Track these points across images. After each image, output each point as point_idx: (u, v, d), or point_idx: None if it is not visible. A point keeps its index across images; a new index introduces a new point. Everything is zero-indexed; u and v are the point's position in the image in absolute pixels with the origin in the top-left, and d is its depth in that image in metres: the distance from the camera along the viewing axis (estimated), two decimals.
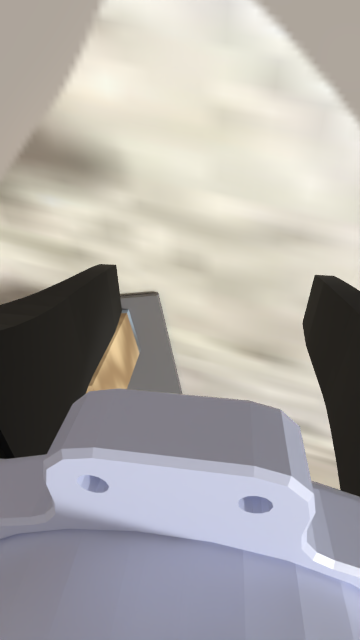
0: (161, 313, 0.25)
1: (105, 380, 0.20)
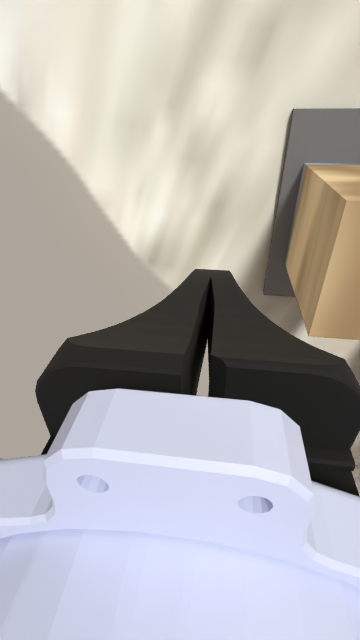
0: (327, 109, 0.16)
1: None
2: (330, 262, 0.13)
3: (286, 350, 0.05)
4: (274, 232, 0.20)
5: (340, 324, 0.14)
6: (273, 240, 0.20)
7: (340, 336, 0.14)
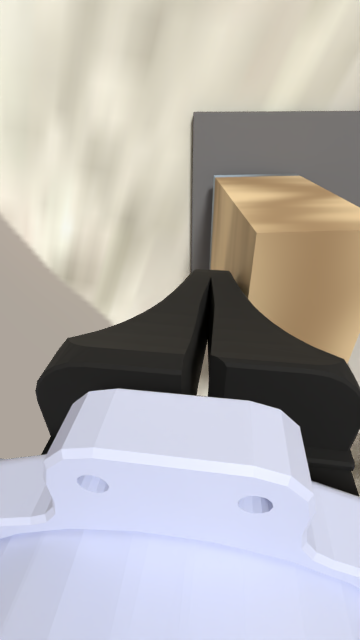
0: (230, 112, 0.14)
1: (278, 216, 0.10)
2: None
3: (285, 350, 0.05)
4: (192, 247, 0.18)
5: None
6: (192, 256, 0.19)
7: None
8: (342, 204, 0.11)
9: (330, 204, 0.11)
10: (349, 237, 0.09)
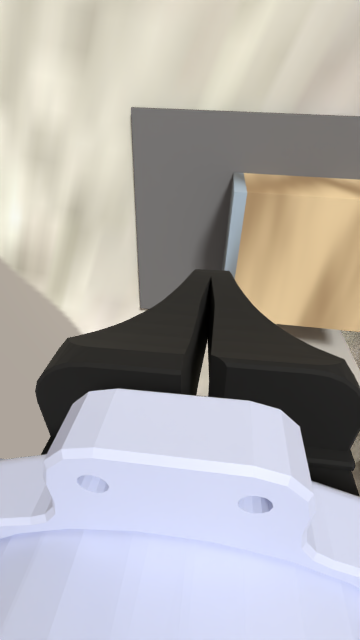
0: (166, 109, 0.15)
1: None
2: None
3: (286, 350, 0.05)
4: (138, 242, 0.19)
5: None
6: (138, 250, 0.19)
7: None
8: (350, 180, 0.15)
9: (353, 182, 0.15)
10: None
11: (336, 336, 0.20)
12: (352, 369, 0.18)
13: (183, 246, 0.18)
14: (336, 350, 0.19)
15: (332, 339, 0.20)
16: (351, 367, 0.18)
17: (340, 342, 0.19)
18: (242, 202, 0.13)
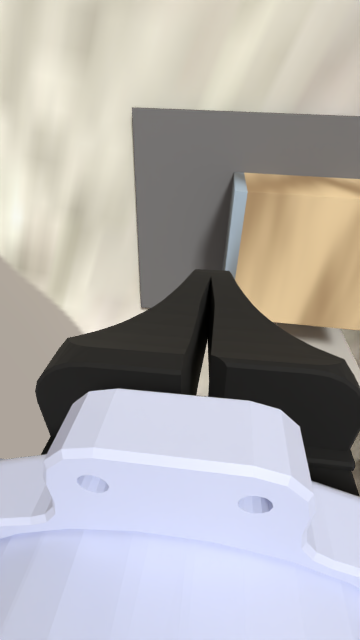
0: (167, 109, 0.15)
1: None
2: None
3: (286, 350, 0.05)
4: (139, 241, 0.19)
5: None
6: (139, 250, 0.19)
7: None
8: (350, 180, 0.15)
9: (352, 181, 0.15)
10: None
11: (336, 335, 0.20)
12: (352, 367, 0.18)
13: (184, 245, 0.18)
14: (336, 349, 0.19)
15: (332, 338, 0.20)
16: (351, 365, 0.18)
17: (340, 341, 0.20)
18: (242, 201, 0.13)
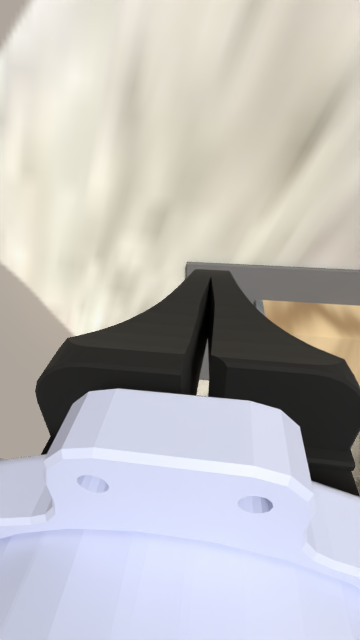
0: (210, 265, 0.22)
1: None
2: None
3: (286, 350, 0.05)
4: None
5: None
6: None
7: None
8: (335, 307, 0.22)
9: (337, 310, 0.22)
10: None
11: None
12: None
13: None
14: None
15: None
16: None
17: None
18: None
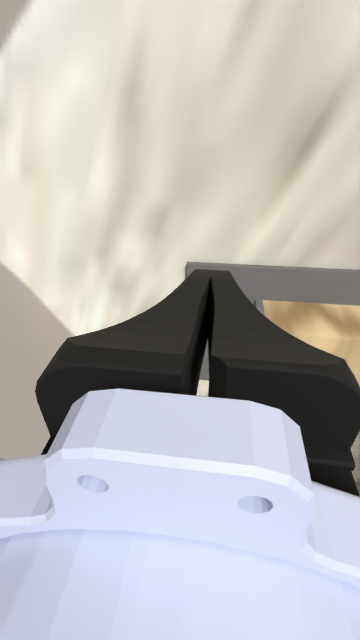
0: (210, 265, 0.22)
1: None
2: None
3: (286, 350, 0.05)
4: None
5: None
6: None
7: None
8: (335, 307, 0.22)
9: (337, 310, 0.22)
10: None
11: None
12: None
13: None
14: None
15: None
16: None
17: None
18: None
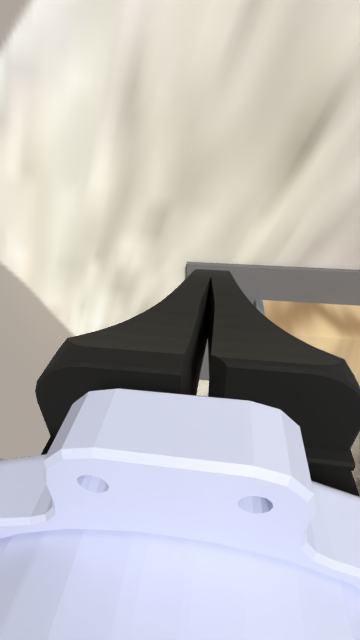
0: (210, 265, 0.22)
1: None
2: None
3: (286, 350, 0.05)
4: None
5: None
6: None
7: None
8: (335, 307, 0.22)
9: (337, 310, 0.22)
10: None
11: None
12: None
13: None
14: None
15: None
16: None
17: None
18: None
